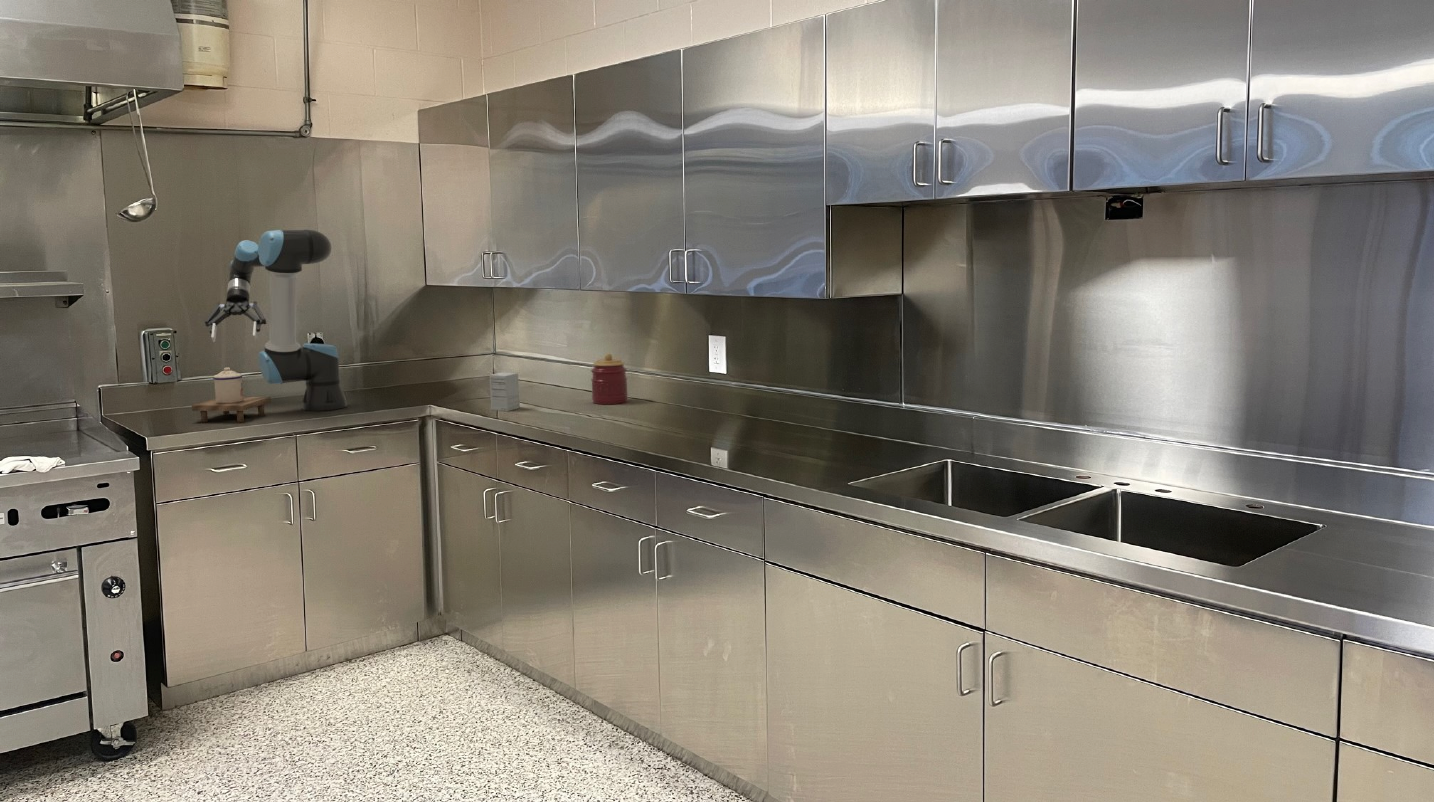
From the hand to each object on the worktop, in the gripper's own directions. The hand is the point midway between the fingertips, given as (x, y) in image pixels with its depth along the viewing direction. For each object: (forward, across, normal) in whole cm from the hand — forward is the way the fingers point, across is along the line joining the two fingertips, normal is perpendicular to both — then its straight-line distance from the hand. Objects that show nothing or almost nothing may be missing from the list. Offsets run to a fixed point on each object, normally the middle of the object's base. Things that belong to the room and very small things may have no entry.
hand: (234, 338), depth 377 cm
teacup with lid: (+26, 0, -3) cm, 26 cm away
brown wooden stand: (+30, 0, -7) cm, 31 cm away
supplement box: (+39, -92, +2) cm, 100 cm away
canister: (+37, -129, -1) cm, 135 cm away
